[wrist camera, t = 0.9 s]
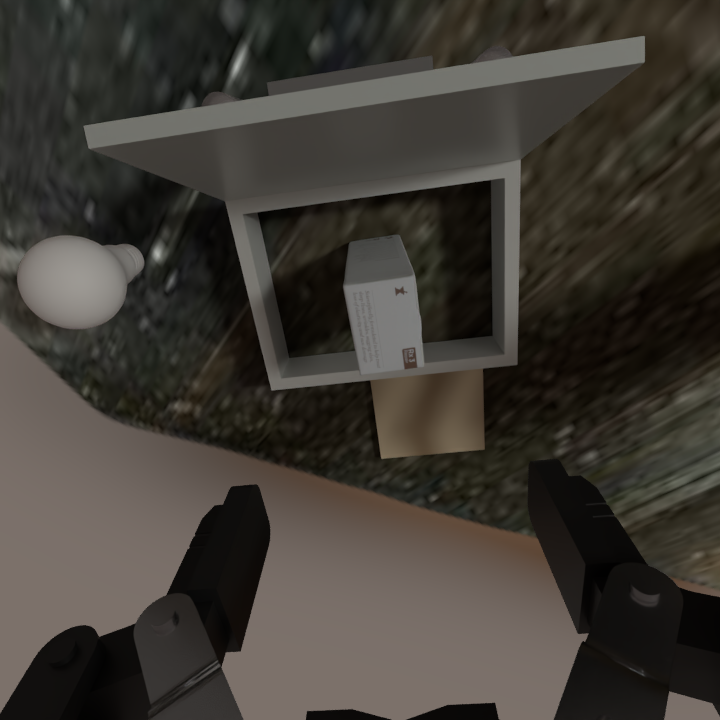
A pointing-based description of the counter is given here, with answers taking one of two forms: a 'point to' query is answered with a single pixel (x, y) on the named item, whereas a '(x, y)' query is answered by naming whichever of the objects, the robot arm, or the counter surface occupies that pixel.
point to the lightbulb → (77, 280)
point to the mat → (429, 413)
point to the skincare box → (383, 306)
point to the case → (436, 354)
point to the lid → (370, 122)
